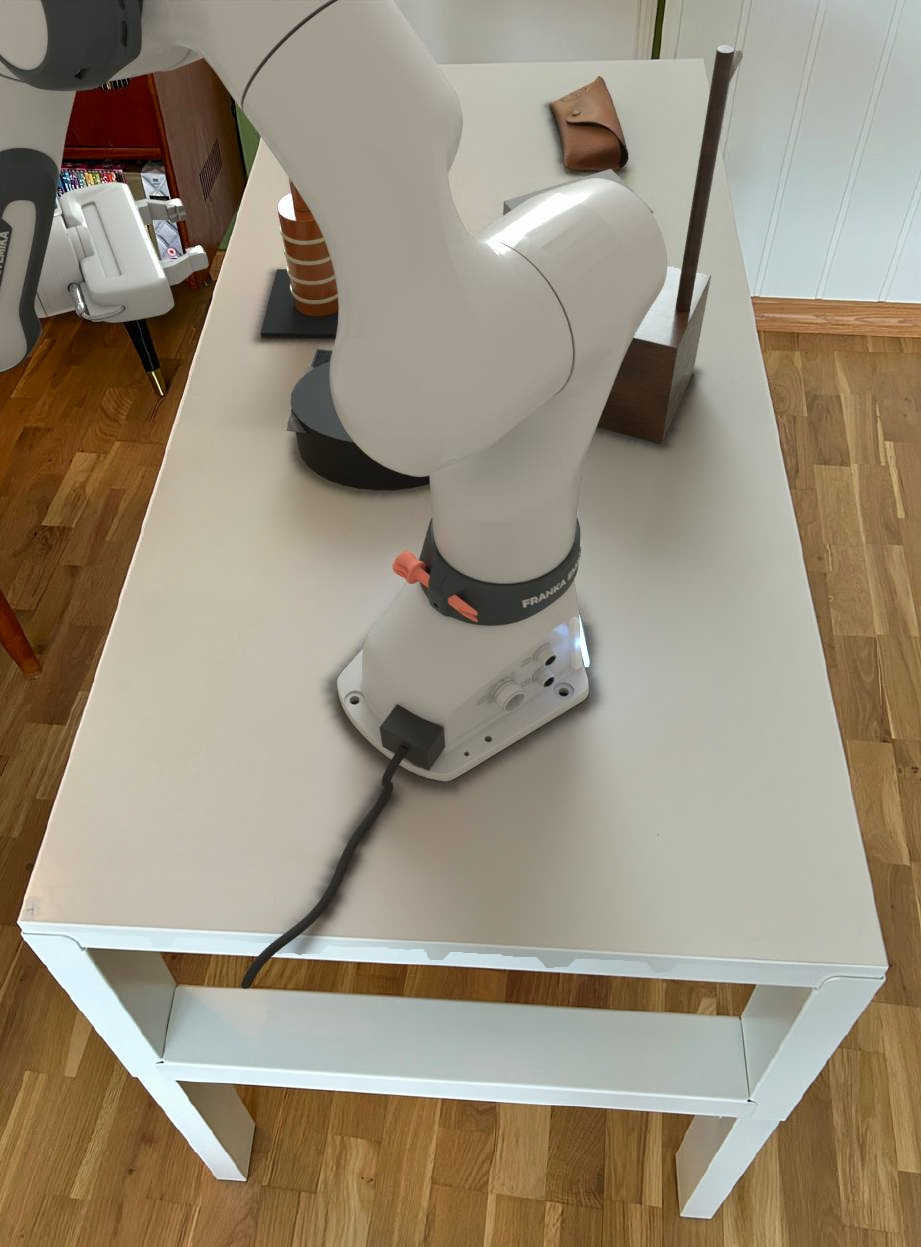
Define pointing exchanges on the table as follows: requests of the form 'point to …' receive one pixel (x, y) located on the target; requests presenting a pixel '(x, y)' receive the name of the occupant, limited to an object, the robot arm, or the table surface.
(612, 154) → the sunglasses case
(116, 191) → the robot arm
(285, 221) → the brown banded bottle
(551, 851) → the table surface
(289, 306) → the rubber mat
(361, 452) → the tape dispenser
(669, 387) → the hanger rack
